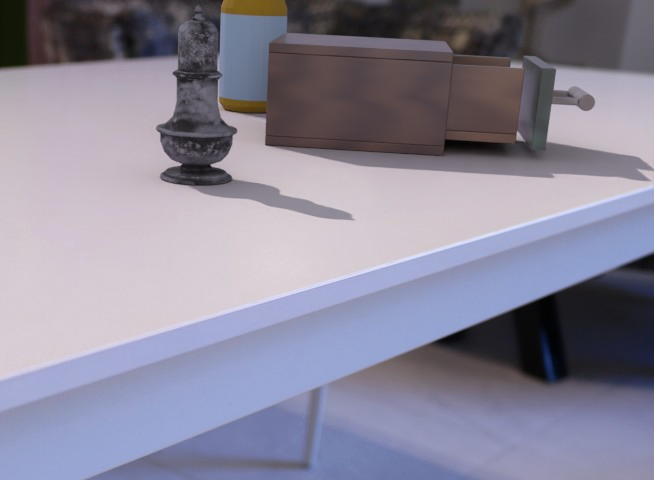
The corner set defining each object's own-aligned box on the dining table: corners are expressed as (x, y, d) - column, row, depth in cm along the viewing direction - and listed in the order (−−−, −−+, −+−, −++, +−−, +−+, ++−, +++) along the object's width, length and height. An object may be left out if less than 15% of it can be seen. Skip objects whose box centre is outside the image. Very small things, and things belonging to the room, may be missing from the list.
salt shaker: (230, 170, 80) (235, 4, 76) (241, 186, 75) (246, 8, 71) (153, 169, 79) (153, 1, 75) (158, 185, 74) (158, 4, 70)
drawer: (570, 130, 103) (580, 58, 100) (594, 153, 90) (607, 71, 88) (379, 119, 104) (384, 48, 102) (377, 140, 92) (383, 59, 89)
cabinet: (436, 131, 105) (445, 41, 102) (443, 155, 91) (453, 52, 88) (281, 122, 106) (285, 32, 103) (265, 144, 92) (268, 42, 89)
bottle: (232, 113, 110) (237, -41, 105) (209, 104, 116) (212, -42, 110) (293, 112, 113) (300, -38, 107) (267, 104, 119) (273, -39, 113)
